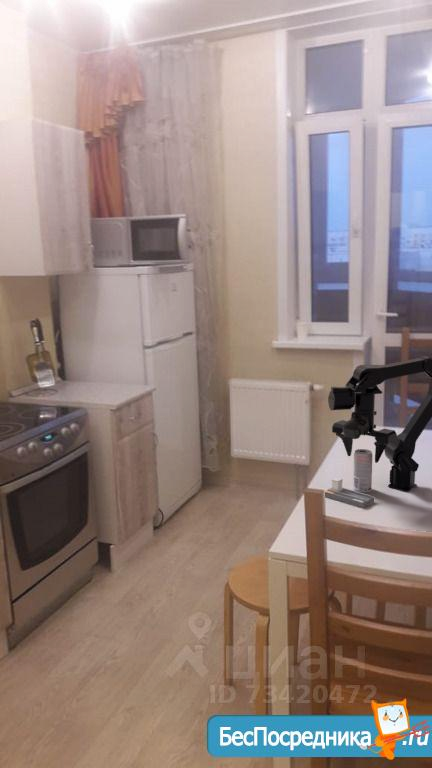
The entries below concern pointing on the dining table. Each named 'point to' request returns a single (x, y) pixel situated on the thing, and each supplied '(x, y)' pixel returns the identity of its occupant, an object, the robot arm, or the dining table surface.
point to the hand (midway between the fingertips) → (362, 459)
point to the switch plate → (350, 497)
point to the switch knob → (337, 484)
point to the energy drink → (362, 471)
